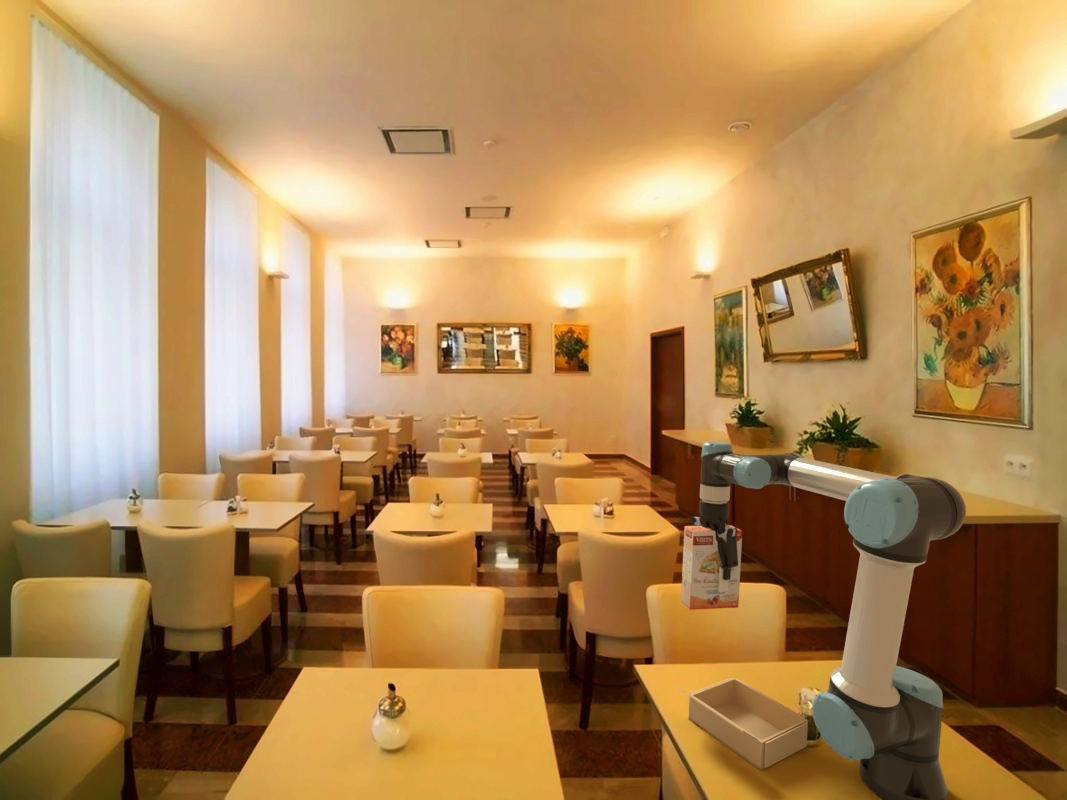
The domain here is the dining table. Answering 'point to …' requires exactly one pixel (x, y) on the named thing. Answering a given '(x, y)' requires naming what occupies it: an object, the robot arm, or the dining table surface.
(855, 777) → the dining table surface
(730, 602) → the cracker box
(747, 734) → the flap
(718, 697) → the carton
